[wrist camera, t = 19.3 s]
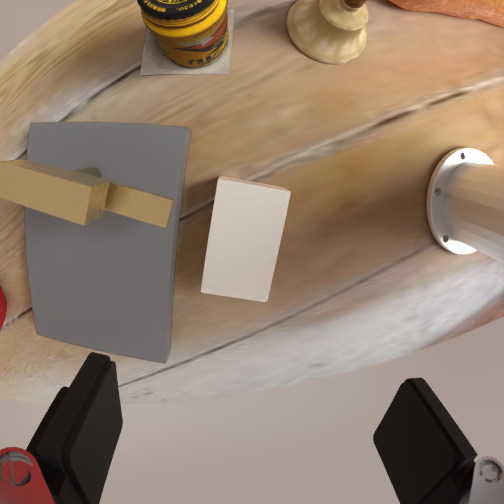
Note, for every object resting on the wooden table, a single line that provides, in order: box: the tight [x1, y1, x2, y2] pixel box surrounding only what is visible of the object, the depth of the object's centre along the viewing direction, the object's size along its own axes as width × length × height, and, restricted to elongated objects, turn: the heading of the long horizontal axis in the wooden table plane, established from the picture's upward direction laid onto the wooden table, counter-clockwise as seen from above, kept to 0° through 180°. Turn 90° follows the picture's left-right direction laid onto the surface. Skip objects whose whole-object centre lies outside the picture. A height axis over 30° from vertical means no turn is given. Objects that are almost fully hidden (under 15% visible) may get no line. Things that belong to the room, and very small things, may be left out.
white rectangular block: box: [201, 176, 291, 302], centre depth 29 cm, size 6×10×4 cm, turn 170°
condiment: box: [137, 0, 235, 76], centre depth 19 cm, size 7×8×12 cm
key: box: [0, 159, 175, 228], centre depth 21 cm, size 2×12×9 cm, turn 72°
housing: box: [25, 122, 191, 363], centre depth 28 cm, size 16×23×3 cm
